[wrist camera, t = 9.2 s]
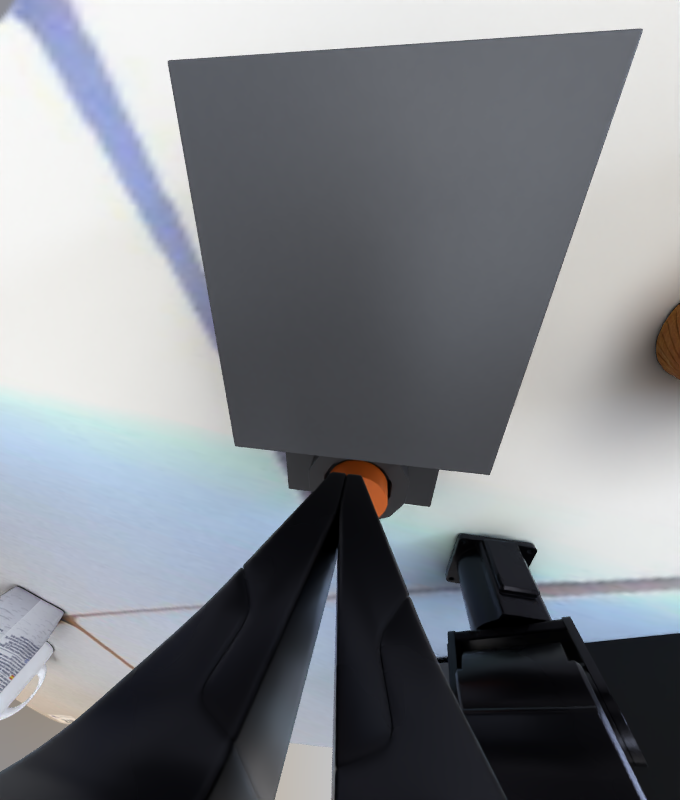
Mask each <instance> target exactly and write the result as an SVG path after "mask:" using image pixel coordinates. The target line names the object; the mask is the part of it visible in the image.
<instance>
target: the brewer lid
mask: <svg viewBox="0 0 680 800" xmlns="http://www.w3.org/2000/svg"><path fill="white" fill-rule="evenodd" d="M642 31H643V29H628V30H613V31H598V32H583V33H568V34H554V35H539V36H524V37H509V38H494V39H479V40H465V41H450V42H435V43H420V44H405V45H390V46H375V47H361V48H346V49H331V50H316V51H301V52H286V53H272V54H257V55H242V56H227V57H212V58H197V59H183V60H169V61H168V67H169V72H170V78H171V84H172V89H173V95H174V101H175V106H176V112H177V118H178V124H179V129H180V135H181V141H182V146H183V152H184V158H185V164H186V169H187V175H188V181H189V186H190V192H191V198H192V203H193V209H194V215H195V221H196V226H197V232H198V238H199V243H200V249H201V255H202V260H203V266H204V272H205V278H206V283H207V289H208V295H209V300H210V306H211V312H212V317H213V323H214V329H215V335H216V340H217V346H218V352H219V357H220V363H221V369H222V375H223V380H224V386H225V392H226V397H227V403H228V409H229V414H230V420H231V426H232V432H233V437H234V443H235V446H238V447H247V448H256V449H264V450H273V451H282V452H291V453H300V454H308V455H317V456H326V457H335V458H344V459H352V460H361V461H370V462H379V463H388V464H397V465H405V466H414V467H423V468H432V469H441V470H449V471H458V472H467V473H476V474H485V475H490V473H491V470H492V467H493V464H494V461H495V458H496V455H497V452H498V449H499V446H500V444H501V441H502V438H503V435H504V432H505V429H506V426H507V423H508V420H509V417H510V415H511V412H512V409H513V406H514V403H515V400H516V397H517V394H518V391H519V388H520V386H521V383H522V380H523V377H524V374H525V371H526V368H527V365H528V362H529V359H530V356H531V354H532V351H533V348H534V345H535V342H536V339H537V336H538V333H539V330H540V327H541V325H542V322H543V319H544V316H545V313H546V310H547V307H548V304H549V301H550V298H551V296H552V293H553V290H554V287H555V284H556V281H557V278H558V275H559V272H560V269H561V267H562V264H563V261H564V258H565V255H566V252H567V249H568V246H569V243H570V240H571V238H572V235H573V232H574V229H575V226H576V223H577V220H578V217H579V214H580V211H581V208H582V206H583V203H584V200H585V197H586V194H587V191H588V188H589V185H590V182H591V179H592V177H593V174H594V171H595V168H596V165H597V162H598V159H599V156H600V153H601V150H602V148H603V145H604V142H605V139H606V136H607V133H608V130H609V127H610V124H611V121H612V119H613V116H614V113H615V110H616V107H617V104H618V101H619V98H620V95H621V92H622V89H623V87H624V84H625V81H626V78H627V75H628V72H629V69H630V66H631V63H632V60H633V58H634V55H635V52H636V49H637V46H638V43H639V40H640V37H641V34H642Z"/></svg>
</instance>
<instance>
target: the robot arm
mask: <svg viewBox="0 0 680 800" xmlns="http://www.w3.org/2000/svg"><path fill="white" fill-rule="evenodd" d="M536 553H537V549H536V548H535V546H534V545H533V544H531V543H524V542H517V541H510V540H503V539H496V538H489V537H481V536H474V535H467V534H461V535H459V536H458V537H457V540H456V543H455V546H454V549H453V553H452V556H451V559H450V562H449V565H448V568H447V571H446V579H447V581H449V582H454V583H460V586H461V590H462V594H463V599H464V603H465V607H466V611H467V616H468V620H469V624H470V628H471V630H469V631H461V632H455V631H449V632H448V644H447V649H448V667H449V683H448V681H447V679H446V677H445V675H444V673H443V671H442V669H441V667H440V665H439V663H438V661H437V658H436V656H435V654H434V652H433V650H432V648H431V645H430V643H429V641H428V639H427V636H426V634H425V632H424V629H423V627H422V625H421V622H420V620H419V618H418V615H417V612H416V610H415V607H414V605H413V602H412V600H411V598H410V597H408V596H409V593H408V590H407V588H406V585H405V583H404V580H403V578H402V575H401V573H400V570H399V568H398V565H397V563H396V560H395V558H394V555H393V553H392V550H391V548H390V545H389V543H388V540H387V538H386V535H385V533H384V530H383V528H382V525H381V523H380V520H379V518H378V515H377V513H376V510H375V508H374V505H373V502H372V500H371V497H370V495H369V492H368V490H367V487H366V485H365V482H364V480H363V478H362V476H361V475H355V474H347V476H346V474H345V473H339V472H332V473H330V474H329V475H328V476H327V477H326V479H325V480H324V481H323V482H322V483H321V484H320V485H319V486H318V487H317V488H316V489H315V490H314V491H313V492H312V493H311V494H310V495H309V496H308V498H307V499H306V500H305V501H304V502H303V503H302V504H301V505H300V506H299V507H298V508H297V509H296V510H295V511H294V512H293V513H292V514H291V515H290V517H289V518H288V519H287V520H286V521H285V522H284V523H283V524H282V525H281V526H280V527H279V528H278V529H277V530H276V531H275V532H274V533H273V535H272V536H271V537H270V538H269V539H268V540H267V541H266V542H265V543H264V544H263V545H262V546H261V547H260V548H259V549H258V550H257V551H256V552H255V554H254V555H253V556H252V557H251V558H250V559H249V560H248V561H247V562H246V563H245V564H244V566H243V568H244V569H243V568H240V569H239V570H238V571H237V572H236V573H235V574H234V575H233V577H232V578H231V579H230V580H229V581H228V582H227V583H226V584H225V585H224V586H223V587H222V588H221V589H220V590H219V591H218V592H217V593H216V594H215V595H214V596H213V597H212V598H211V599H210V600H209V601H208V602H207V603H206V604H205V605H204V606H203V607H202V608H201V609H200V610H199V611H198V612H197V613H195V614H194V615H193V616H192V617H191V618H190V619H189V620H188V621H187V622H186V623H185V624H183V625H182V626H181V627H180V628H179V629H178V630H177V631H176V632H175V633H174V634H173V635H171V636H170V637H169V638H168V639H167V640H166V641H165V642H164V643H162V644H161V645H160V646H159V647H158V648H157V649H156V650H155V651H153V652H152V653H151V654H150V655H149V656H148V657H147V658H146V659H144V660H143V661H142V662H141V663H140V664H139V665H138V666H137V667H135V668H134V669H133V670H132V671H131V672H130V673H129V674H128V675H126V676H125V677H124V678H123V679H122V680H121V681H120V682H119V683H117V684H116V685H115V686H114V687H113V688H112V689H111V690H110V691H108V692H107V693H106V694H105V695H104V696H103V697H102V698H101V699H99V700H98V701H97V702H96V703H95V704H94V705H93V706H91V707H90V708H89V709H88V710H87V711H86V712H85V713H83V714H82V715H81V716H80V717H79V718H77V719H76V720H75V721H74V722H72V723H71V724H70V725H69V726H67V727H66V728H65V729H64V730H62V731H61V732H60V733H58V734H57V735H56V736H54V737H53V738H51V739H50V740H49V741H47V742H46V743H44V744H43V745H42V746H40V747H39V748H37V749H36V750H34V751H33V752H31V753H30V754H28V755H27V756H25V757H24V758H22V759H21V760H19V761H18V762H16V763H14V764H13V765H11V766H9V767H8V768H6V769H4V770H2V771H1V772H0V800H275V796H276V792H277V788H278V784H279V780H280V777H281V773H282V769H283V765H284V761H285V757H286V754H287V750H288V745H289V742H290V738H291V734H292V730H293V727H294V723H295V719H296V715H297V711H298V707H299V703H300V700H301V696H302V692H303V688H304V684H305V680H306V676H307V673H308V669H309V665H310V661H311V657H312V653H313V649H314V646H315V642H316V638H317V634H318V630H319V626H320V622H321V619H322V615H323V611H324V607H325V603H326V599H327V595H328V592H329V588H330V584H331V580H332V576H333V572H334V569H335V564H336V560H337V595H336V635H335V675H334V716H333V758H332V798H331V800H647V798H646V796H645V794H644V792H643V790H642V788H641V786H640V784H639V782H638V780H637V778H636V776H635V774H634V772H633V770H632V768H631V767H648V765H647V762H646V760H645V758H644V756H643V754H642V752H641V750H640V748H639V746H638V744H637V742H636V740H635V738H634V736H633V734H632V732H631V731H630V729H629V727H628V725H627V723H626V721H625V719H624V717H623V715H622V713H621V711H620V709H619V707H618V705H617V703H616V702H615V700H614V698H613V696H612V694H611V692H610V690H609V688H608V686H607V685H606V683H605V681H604V679H603V677H602V675H601V673H600V672H599V670H598V668H597V666H596V664H595V662H594V660H593V658H592V657H591V655H590V653H589V651H588V649H587V647H586V645H585V644H584V642H583V640H582V638H581V636H580V634H579V632H578V631H577V629H576V627H575V625H574V623H573V621H572V619H571V618H570V616H569V617H561V618H562V619H559V620H552V619H551V617H550V615H549V613H548V611H547V608H546V606H545V604H544V602H543V600H542V598H541V596H540V591H539V589H538V587H537V585H536V583H535V581H534V578H533V576H532V574H531V572H530V570H529V566H530V564H531V562H532V560H533V558H534V557H535V555H536ZM337 555H338V559H337ZM579 663H584V665H585V666H581V665H580V664H579Z"/></svg>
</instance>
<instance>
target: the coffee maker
mask: <svg viewBox="0 0 680 800" xmlns="http://www.w3.org/2000/svg"><path fill="white" fill-rule="evenodd" d="M585 645H586V647H587V649H588V651H589V653H590V655H591V657H592V658H593V660H594V662H595V664H596V666H597V668H598V670H599V672H600V673H601V675H602V677H603V679H604V681H605V683H606V685H607V686H608V688H609V690H610V692H611V694H612V696H613V698H614V700H615V702H616V703H617V705H618V707H619V709H620V711H621V713H622V715H623V717H624V719H625V721H626V723H627V725H628V727H629V729H630V731H631V732H632V734H633V736H634V738H635V740H636V742H637V744H638V746H639V748H640V750H641V752H642V754H643V756H644V758H645V760H646V762H647V765H648V767H631V768H632V770H633V772H634V774H635V776H636V778H637V780H638V782H639V784H640V786H641V788H642V790H643V792H644V794H645V796H646V798H647V800H680V634H672V635H662V636H653V637H643V638H633V639H623V640H614V641H604V642H594V643H585ZM579 664H580V665H581V666H585V665H584V663H579ZM439 665H440V667H441V669H442V671H443V673H444V675H445V677H446V679H447V681H448V683H449V667H448V662H447V663H439Z"/></svg>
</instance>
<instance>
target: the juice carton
mask: <svg viewBox="0 0 680 800" xmlns="http://www.w3.org/2000/svg"><path fill="white" fill-rule="evenodd" d="M63 614H64V612H63V611H62V610H60V609H58V608H57V607H55V606H53V605H51V604H49V603H47V602H45V601H44V600H42V599H40V598H38V597H36V596H35V595H33V594H31V593H29V592H28V591H26V590H24V589H22V588H20V587H15V588H13V589H11V590H9V591H8V592H6V593H5V594H3V595H2V596H0V693H1V692H2V691H3V690H4V689H5V688H6V687H7V686H8V684H9V683H10V682H11V681H12V680H13V679H14V678H15V677H16V675H17V674H18V673H19V672H20V671H21V670H22V669H23V668H24V666H25V665H26V664H27V663H28V662H29V661H30V660H31V659H32V657H33V656H34V655H35V654H36V653H37V652H38V651H39V649H40V648H41V647H42V646H43V644H44V643H45V642H46V641H47V639H48V638H49V636H50V635H51V633H52V632H53V630H54V629H55V627H56V626H57V624H58V622H59V621H60V619H61V618H62V616H63Z"/></svg>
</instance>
